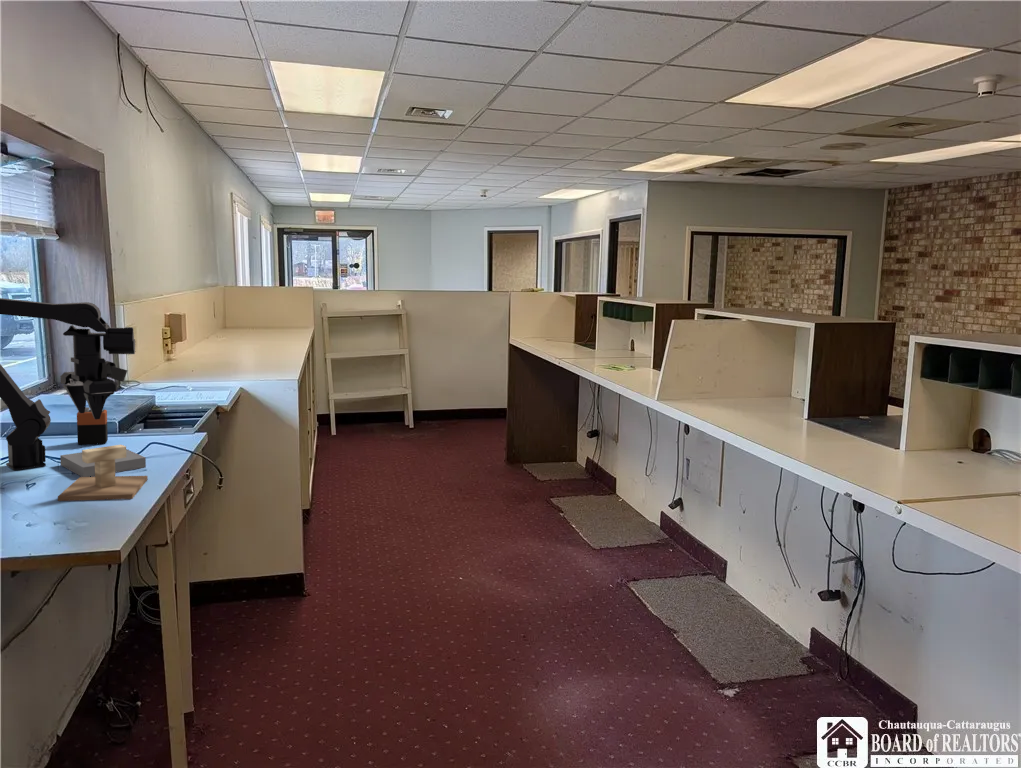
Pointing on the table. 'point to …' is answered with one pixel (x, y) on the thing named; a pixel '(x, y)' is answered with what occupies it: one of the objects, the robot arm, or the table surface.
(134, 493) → the walnut pad
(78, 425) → the battery
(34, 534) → the table surface
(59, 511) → the table surface
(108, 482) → the t key
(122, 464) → the keyhole plate
